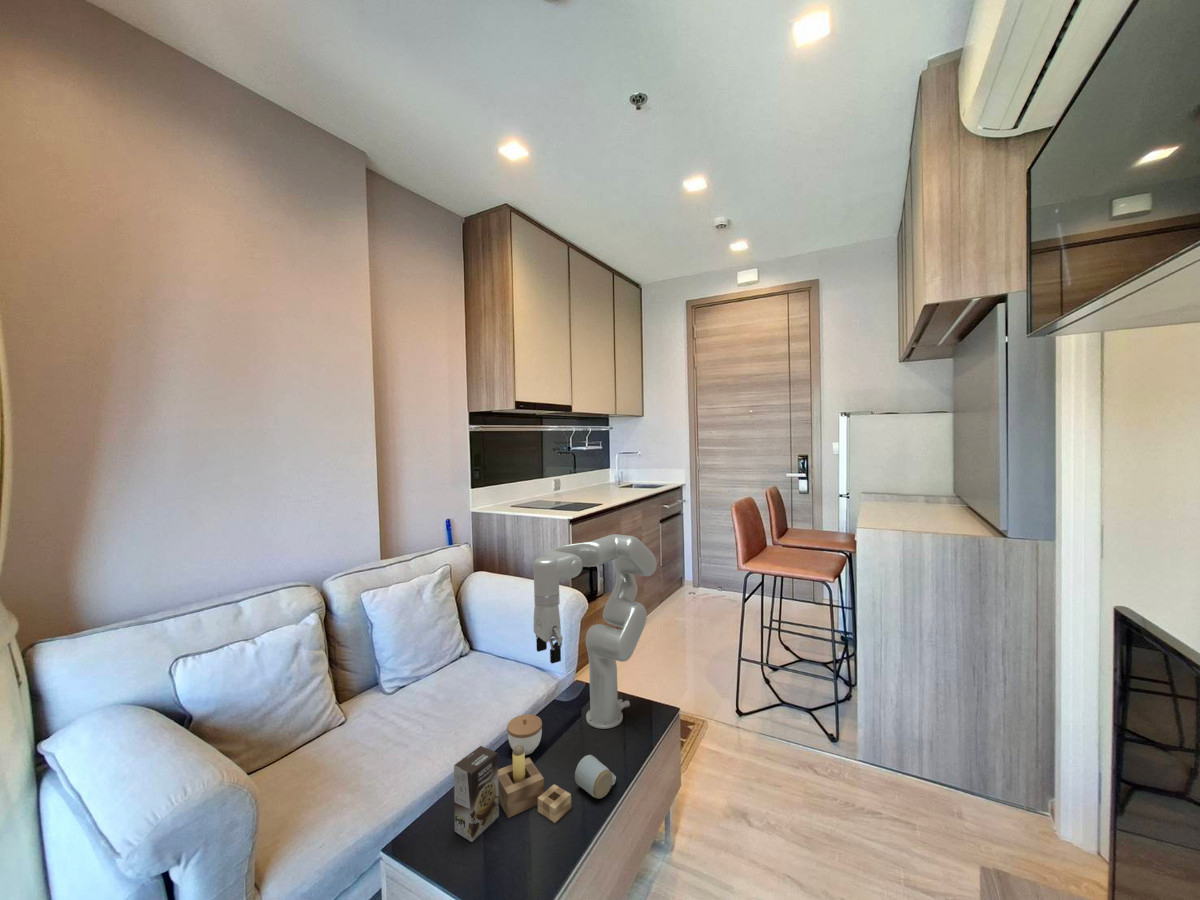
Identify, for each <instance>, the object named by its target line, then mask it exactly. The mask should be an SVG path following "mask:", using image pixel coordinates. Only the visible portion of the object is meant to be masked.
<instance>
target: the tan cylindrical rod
mask: <svg viewBox="0 0 1200 900" xmlns="http://www.w3.org/2000/svg"><path fill="white" fill-rule="evenodd" d="M525 756H526V755H525V750H524V748H523V746H521V745H517V746H515V747H514V749H512V764H513V784H515V783H517V782H520V781H522V780H524V779H525V759H526V757H525Z"/></svg>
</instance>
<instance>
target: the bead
mask: <svg viewBox="0 0 1200 900" xmlns="http://www.w3.org/2000/svg"><path fill="white" fill-rule="evenodd" d="M544 792H545V778H544V777H543V775H542V773H541V772H540V770H539V769H538V768H537V766H536V764H534V762H533V761H532V759H531V758H530V757H525V779H524V780H522V781H520V782H517V783H515V784H513V763H512V764H509V765H506V766H504V767H502V768H498V796H499V804H500V806H501V808H502V810H503V812H504V814H505V816H506V817H507V819H510V818H512V817H513V816H516V815H518V814H520V813H522V812H523V813H524V811H526V810H529V809H531V808H534V807H535V806H538V797H539V796H540V795H542V794H543V793H544Z"/></svg>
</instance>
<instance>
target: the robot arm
mask: <svg viewBox="0 0 1200 900" xmlns="http://www.w3.org/2000/svg"><path fill="white" fill-rule="evenodd" d="M610 561H613V564H614V565H613V566H614V569H615V576H616V577H615V579H616V581H615V585H614V587H613V589H612V591H611V593H610V594H609V598H608V599H607V601H606V604H605V606H604V608H603V611H602V618H603V620H604V621H605V622H606V623H607V624H609V625H612V626H609V625H607V624H601V623H600V624H599V623H597V624H594V625H591V626H590V627H589V628H587V629H588V630H587V631H586V635H585V647H586V650H587V656H588V665H589V666H588V667H589V668H588V669H589V671H588V672H589V673H588V674H589V698H590V699H589V703H590V704H589V706H590V707H589V709H588V711H587V712H586V714H585V719H586V723H587V724H588V725H589V726H590V727H593V728H596V729H600V730H602V729H604V730H605V729H612V728H615V727H617V726H619V725H620V724H621V723H622V721H623V718H624V717H623V712H622V711H623V709H625V708H628V707H630V706H631V704H630V701H629V700H624V701H623V699H622V698H618V697H619V694H618V667H617V666H618V665H617V662H616V661H618V662H622V663H623V662H627V661H629V660H630V658H631V657H632V656H633V654H634V652H635V650H636V647H637V645H638V643H639V641H640V638H641V636H642V634H643V631H644V629H645V627H646V623H647V617H648V616H647V610H646V607H645V605H643V604H642V603H640V602H638V601H635V599H636V597H637V594H638V585H637V581H636V577H635V576H634V575H637V576H642V577H650V576H652V575H654V573H655V572H656V570H657V565H658V563H657V558H656V556H655V554H654V553H653V552H652V551H651V550H650V549H649V548H648V547H647V545H646V544H645V543H643V542H642V541H641V540H640V539H639V538H637V537H636V536H633V535H627V534H617V533H615V534H609V535H606V536H603V537H600V538H597V539H593V540H590V541H586V542H585V541H584V542H579V543H572V544H571V543H570V544H566V545H560V546H557V547H554V548H551V549H549V550H547V551H545V552H544V553H543V555H542V556H540V557H538V558H535V560H534V561H533V593H534V595H533V596H534V597H533V601H534V610H533V633H534V634H535V638H536V639H535V640H536V651H537V652H538V653H539V652H544V651H545V650H547V649H548V646H547V643H549V646H550V649H549V663H551V665H553V664H556V663H559V662H561V661H562V656H561V655H562V654H561V653H562V651H561V649H562V645H563V636H562V634H561V633H562V631H561V629H562V628H561V626H562V625H561V615H560V606H559V605H560V601H561V600H560V581H561V580H568V579H569V580H570V579H571V580H572V579H574V578H576V577H577V576H579V575H580V574H581V572H582V571H583V568H585V567H586V568H591V567H598V566H601V565H604V564H606V563H608V562H610ZM613 626H615V627H613ZM616 627H619V628H621V629H619V628H616Z"/></svg>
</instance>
